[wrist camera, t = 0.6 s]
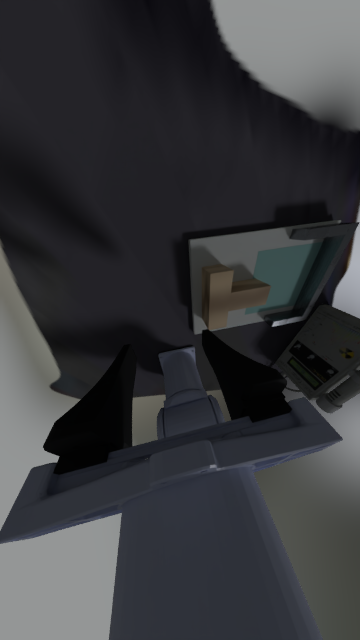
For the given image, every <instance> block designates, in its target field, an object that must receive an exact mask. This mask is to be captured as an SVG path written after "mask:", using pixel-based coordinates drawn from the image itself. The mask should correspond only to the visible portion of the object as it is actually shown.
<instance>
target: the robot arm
mask: <svg viewBox="0 0 360 640" xmlns="http://www.w3.org/2000/svg"><path fill="white" fill-rule="evenodd" d="M202 346H203V349H204V351H205V354H206V356H207V358H208V360H209V362H210V364H211V366H212V368H213V370H214V372H215V374H216V377H217V379H218V382H219V385H220V387H221V390H222V393H223V396H224V399H225V402H226V404H227V408H228V411H229V414H230V417H231V421H227V422H225V420H224V417H223V414H222V411H221V409H220V407H219V404H218V402H217V400H216V398H214V397H213V396H212V395H208V396H207V393H206V390H204V389H203V386H202V383H201V380H200V377H199V374H198V371H197V367H196V364H195V348H194V347H193V346H192V347H187V348H182V349H177V350H172V351H167V352H163V353H159V354H158V357H159V360H160V364H161V367H162V370H163V374H164V383H165V394H166V400H165V401H164V408H161V409H160V411H159V413H158V416H157V436H158V440H155V441H152V442H148V443H144V444H140V445H137V446H133V447H132V400H133V388H134V381H135V374H136V356H135V353H134V351H133V349H132V347H131V344H129V345H124V346H123V348H122V349H121V351H120V352H119V354H118V356H117V357H116V359H115V360H114V362H113V363H112V365H111V366H110V367H109V369H108V370H107V371H106V373H105V374H104V375H103V377H102V378H101V379H100V380H99V381H98V383H97V384H96V385H95V386H94V387H93V388H92V389H91V390H90V391H89V392H88V393H87V394H86V395H85V396H84V397H83V398H82V399H81V400H80V401H79V402H78V403H77V404H76V405H75V406H74V407H72V408H71V409H70V410H69V411H68V412H66V413H65V414H64V415H63V416H62V417H60V418H59V419H58V420H57V421H56V422H55V423H54V425H53V427H52V429H51V431H50V433H49V435H48V437H47V439H46V441H45V443H44V445H43V448H44V450H45V451H47V452H49V453H52V454H55V455H58V456H60V457H59V460H58V462H57V463H49V464H45V465H42V466H38V467H34V468H32V469H31V471H30V473H29V475H28V477H27V479H26V481H25V483H24V485H23V487H22V489H21V491H20V493H19V495H18V497H17V499H16V501H15V503H14V505H13V507H12V509H11V511H10V513H9V515H8V517H7V519H6V521H5V523H4V525H3V527H2V529H1V531H0V544H1V543H7V542H13V541H19V540H24V539H30V538H34V537H38V536H41V535H45V534H48V533H51V532H55V531H58V530H62V529H65V528H69V527H72V526H76V525H79V524H83V523H86V522H90V521H94V520H97V519H101V518H105V517H108V516H112V515H115V514H119V513H122V517H121V528H120V538H119V547H118V557H117V566H116V576H115V586H114V596H113V606H112V615H111V625H110V634H109V640H323V638H322V636H321V634H320V631H319V629H318V627H317V624H316V622H315V619H314V617H313V615H312V612H311V610H310V607H309V605H308V603H307V600H306V598H305V596H304V593H303V591H302V588H301V586H300V584H299V581H298V579H297V576H296V574H295V572H294V570H293V567H292V564H291V562H290V560H289V557H288V555H287V553H286V550H285V548H284V545H283V543H282V541H281V538H280V536H279V533H278V531H277V529H276V526H275V524H274V522H273V519H272V517H271V514H270V512H269V510H268V507H267V505H266V502H265V500H264V498H263V495H262V493H261V491H260V488H259V486H258V483H257V481H256V479H255V476H254V474H253V473H254V472H257V471H260V470H263V469H266V468H269V467H272V466H275V465H277V464H280V463H284V462H287V461H289V460H292V459H296V458H299V457H302V456H305V455H308V454H311V453H314V452H318V451H321V450H323V449H325V448H327V447H329V446H331V445H333V444H335V443H337V442H340V441H342V440H343V439H342V437H341V436H340V435H339V434H338V433H337V432H336V431H335V429H334V428H333V427H332V426H331V425H330V424H329V423H328V422H327V421H326V420H325V419H324V417H323V416H321V414H320V413H319V412H318V411H317V410H316V409H315V408H314V407H313V405H311V403H310V402H309V401H308V400H307V399H306V398H304V397H303V398H299V399H295V400H291V401H289V402H288V403H287V402H286V401H285V399H284V398H285V396H284V395H283V393H282V391H283V390H284V388H285V387H286V385H287V380H286V379H285V378H284V377H283V376H282V375H281V374H280V373H279V372H278V371H277V370H276V369H274V368H271V367H268V366H266V365H263V364H261V363H258V362H256V361H254V360H252V359H250V358H248V357H246V356H244V355H242V354H240V353H239V352H237V351H235V350H234V349H232V348H231V347H229V346H228V345H226V344H225V343H224V342H223V341H221V340H220V339H219V338H218V337H216V336H215V335H214V334H213V333H212V332H211V331H210V330H208V329H206V330H202ZM147 458H148V459H147ZM145 459H146V460H145Z"/></svg>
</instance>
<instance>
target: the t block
mask: <svg viewBox="0 0 360 640" xmlns="http://www.w3.org/2000/svg"><path fill="white" fill-rule="evenodd" d="M233 273H234V270H232V269H230V268H228V267H226V266H224V265H222V264H219V265H212V266H206V267H202V320H203V321H204V323H205V325H206V327H207V329H208V330H214V329H219V328H224V327H226V326H227V318H228V311H233V310H239V309H244V308H250V307H255V306H260V305H265V304H266V301H267V298H268V295H269V292H270V288H271V285H268V284H266V283H264V282H262V281H260V280H258V279H256V278H254V279H248V280H242V281H236V282H232V280H233Z"/></svg>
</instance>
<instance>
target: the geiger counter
mask: <svg viewBox="0 0 360 640" xmlns="http://www.w3.org/2000/svg"><path fill="white" fill-rule="evenodd" d="M275 363H276V365H277V366H278V367H279V368H280V369H281V370H282V372H281V373H280V374H281V375H282V376H283V377H285V376H286V375H287V377H288V378H289V379H290V380H291V381H292V382H293V383H294V384H295V385H296V386H297V387H298V388H299V390H293V389H290V388H287V387H285V388H286V389H288V390H291V391H295V392H302V393H303V394H304V395H305V396H306V397H307V398H308V399H309V400H316V403H317V405H318V406H319V407H320V408H321V409H322V410H324V411H325V412H327V413H333V412H335V411H336V410H338V409H340V408H341V407H342V404H343V403H345V402H346V401H348V400H349V399H351V398H353V397H354V396H356V395H357V394H359V393H360V370H359V369H360V319H359V318H357V317H355V316H352V315H350V314H348V313H345V312H343V311H341V310H338V309H336V308H334V307H332V306H329V305H326V304H325V305H319V307H318V308H317V309H316V310H315V312H314V313H313V314H312V316H311V317H310V318H309V320H308V321H307V322H306V323H305V325H304V326H303V327H302V329H301V330H300V331H299V332H298V334H297V335H296V336H295V338H294V339H293V340H292V342H291V343H290V344H289V345H288V347H287V348H286V349H285V351H284V352H283V353H282V355H281V356H280V357H279V358H278V360H277V361H276V362H275ZM349 376H350V377H349ZM348 377H349V378H348ZM347 378H348V379H347ZM345 379H347V380H345ZM344 380H345V381H344ZM343 381H344V382H343ZM341 382H343V383H341ZM340 383H341V384H340ZM339 384H340V385H339ZM337 385H339V386H337ZM336 386H337V387H336ZM334 387H336V388H335V389H333V388H334ZM332 389H333V390H332ZM330 390H332V391H330ZM329 391H330V392H329ZM328 392H329V393H328Z"/></svg>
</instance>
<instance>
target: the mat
mask: <svg viewBox="0 0 360 640" xmlns="http://www.w3.org/2000/svg"><path fill="white" fill-rule="evenodd" d="M340 222H341V220H335V221H326V222H319V223H311V224H303V225H296V226H288V227H281V228H273V229H265V230H258V231H250V232H243V233H235V234H227V235H220V236H212V237H205V238H197V239H189V240H188V241H189V260H190V279H191V298H192V317H193V332H194V334H200V333H202V330H206V329H207V327H206V325H205V323H204V321H203V320H202V267H206V266H212V265H219V264H222V265H224V266H226V267H228V268H230V269H232V270H234V273H233V280H232V282H236V281H242V280H248V279H254V278H256V279H258V280H260V281H262V282H264V283H266V284H268V285H271V288H270V292H269V295H268V298H267V301H266V304H265V305H260V306H255V307H250V308H244V309H239V310H233V311H228V318H227V326H226V327H224V328H219V329H214V330H210V331H215V330H220V329H225V328H230V327H235V326H240V325H245V324H250V323H255V322H260V321H264V320H263V319H264V316H265V315H267V314H272V313H277V312H283V311H288V310H292V309H293V306H294V305H295V302H296V300H297V298H298V296H299V294H300V291H301V289H302V287H303V285H304V283H305V280H306V278H307V276H308V274H309V272H310V269H311V267H312V265H313V263H314V261H315V258H316V256H317V254H318V252H319V250H320V247H321V245H322V243H323V240H324V238H319V239H312V240H292V239H290V236H291V233H292V230H293V229H298V228H305V227H313V226H320V225H328V224H335V223H340Z"/></svg>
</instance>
